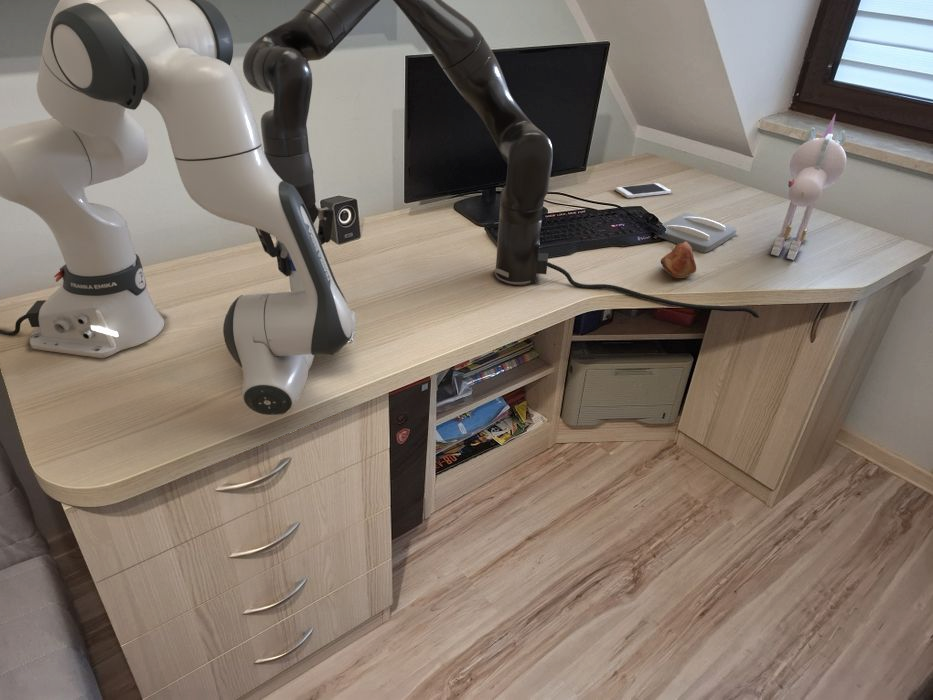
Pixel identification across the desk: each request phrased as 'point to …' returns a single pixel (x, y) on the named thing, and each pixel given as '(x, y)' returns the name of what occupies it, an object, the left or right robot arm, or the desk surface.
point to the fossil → (680, 261)
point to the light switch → (697, 232)
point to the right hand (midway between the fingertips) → (301, 269)
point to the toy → (811, 180)
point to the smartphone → (642, 190)
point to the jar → (295, 282)
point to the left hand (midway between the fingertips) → (306, 303)
